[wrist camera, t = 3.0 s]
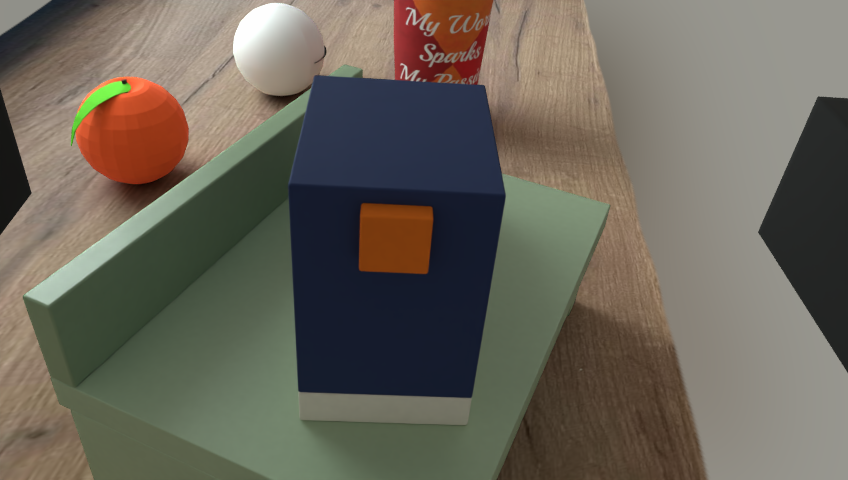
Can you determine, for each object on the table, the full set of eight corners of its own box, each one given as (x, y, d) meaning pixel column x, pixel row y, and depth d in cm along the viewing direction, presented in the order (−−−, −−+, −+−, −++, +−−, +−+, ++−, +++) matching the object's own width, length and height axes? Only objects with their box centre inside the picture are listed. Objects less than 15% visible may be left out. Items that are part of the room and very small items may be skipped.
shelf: (583, 303, 43) (629, 137, 36) (435, 666, 26) (469, 485, 20) (343, 223, 47) (344, 63, 40) (89, 490, 31) (20, 295, 24)
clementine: (125, 225, 45) (102, 123, 41) (50, 188, 48) (21, 89, 44) (216, 170, 51) (204, 76, 47) (144, 140, 53) (127, 48, 49)
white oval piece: (314, 117, 58) (312, 28, 54) (224, 105, 59) (214, 16, 54) (342, 67, 66) (342, -15, 62) (263, 56, 67) (257, -25, 62)
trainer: (468, 440, 26) (509, 207, 20) (297, 435, 25) (284, 196, 19) (448, 194, 38) (469, 5, 32) (333, 188, 38) (332, -4, 32)
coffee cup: (396, 151, 55) (408, -56, 46) (371, 101, 61) (377, -90, 52) (499, 142, 57) (530, -57, 48) (465, 95, 63) (486, -89, 54)
